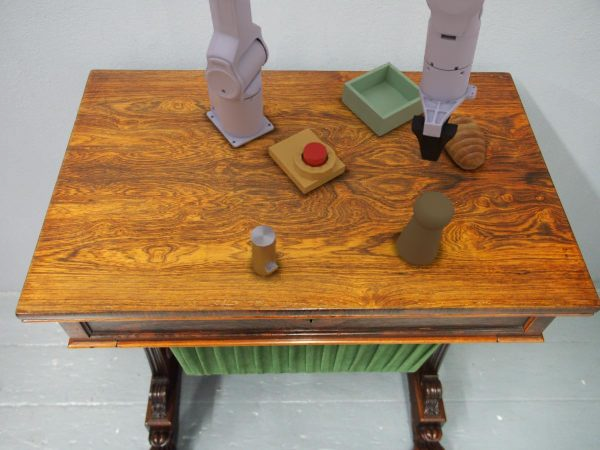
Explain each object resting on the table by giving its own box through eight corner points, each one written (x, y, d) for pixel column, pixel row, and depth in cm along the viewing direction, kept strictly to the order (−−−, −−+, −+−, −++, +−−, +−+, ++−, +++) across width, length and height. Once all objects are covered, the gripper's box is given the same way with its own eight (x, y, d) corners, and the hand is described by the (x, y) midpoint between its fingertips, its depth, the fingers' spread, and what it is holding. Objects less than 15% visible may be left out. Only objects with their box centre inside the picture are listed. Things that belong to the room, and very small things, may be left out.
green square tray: (341, 101, 89) (343, 83, 85) (385, 79, 92) (389, 61, 89) (379, 136, 84) (383, 119, 81) (423, 112, 88) (429, 94, 84)
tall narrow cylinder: (246, 260, 70) (243, 229, 64) (265, 249, 71) (263, 217, 65) (263, 283, 68) (261, 253, 62) (282, 271, 69) (283, 241, 63)
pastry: (491, 170, 81) (499, 154, 78) (451, 174, 80) (458, 158, 77) (473, 129, 86) (480, 112, 83) (435, 131, 85) (441, 115, 82)
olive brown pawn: (436, 268, 70) (460, 226, 61) (394, 260, 71) (411, 217, 62) (438, 233, 74) (461, 188, 65) (398, 226, 74) (415, 180, 65)
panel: (268, 154, 81) (268, 139, 78) (307, 134, 84) (308, 119, 81) (305, 195, 77) (306, 181, 74) (345, 173, 80) (348, 158, 77)
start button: (298, 155, 77) (298, 148, 76) (316, 146, 78) (317, 138, 77) (312, 170, 76) (312, 163, 74) (330, 160, 77) (331, 152, 75)
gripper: (474, 99, 54) (455, 182, 65) (491, 25, 62) (471, 110, 73) (410, 90, 56) (402, 172, 67) (434, 20, 64) (423, 103, 75)
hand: (435, 139), depth 70 cm, fingers open, 7 cm apart
